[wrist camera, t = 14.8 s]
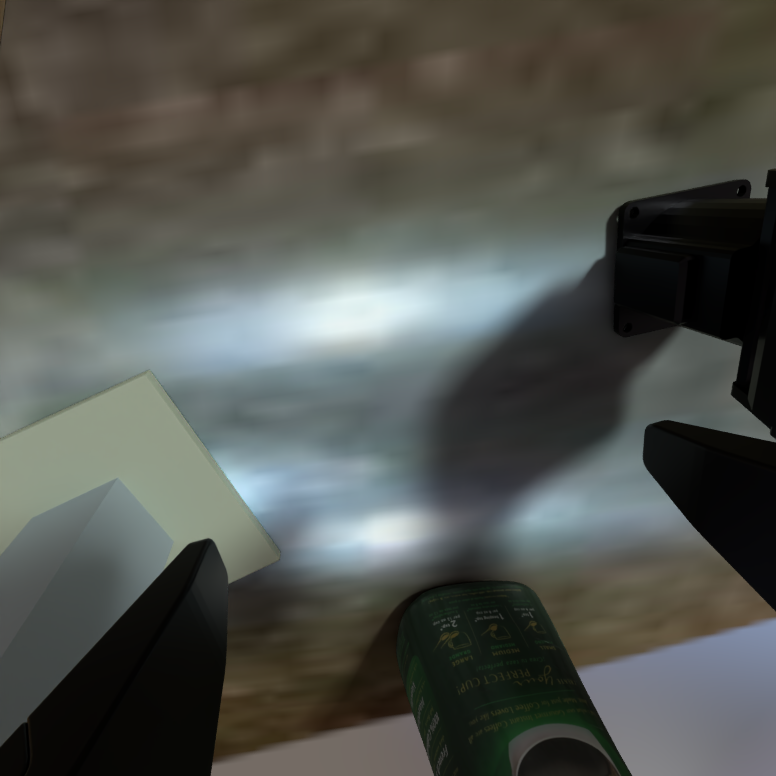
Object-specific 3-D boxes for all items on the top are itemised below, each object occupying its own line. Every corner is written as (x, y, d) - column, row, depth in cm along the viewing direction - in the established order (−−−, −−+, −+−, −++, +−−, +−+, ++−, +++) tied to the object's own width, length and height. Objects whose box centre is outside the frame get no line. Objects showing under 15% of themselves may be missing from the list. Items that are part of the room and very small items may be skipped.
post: (117, 477, 21) (-119, 841, 9) (173, 541, 23) (38, 913, 11) (31, 518, 21) (-318, 936, 9) (94, 578, 23) (-127, 992, 11)
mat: (149, 369, 20) (145, 374, 19) (280, 551, 25) (279, 559, 24) (-100, 484, 20) (-111, 492, 19) (82, 644, 25) (78, 653, 24)
